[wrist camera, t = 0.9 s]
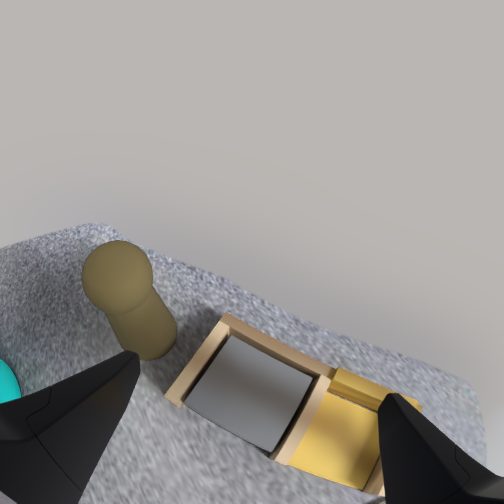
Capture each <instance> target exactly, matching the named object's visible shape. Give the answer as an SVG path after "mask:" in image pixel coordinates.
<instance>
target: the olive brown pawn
mask: <svg viewBox="0 0 504 504" xmlns="http://www.w3.org/2000/svg"><path fill="white" fill-rule="evenodd" d="M81 280H82V284H83V288H84V292H85V294H86V296H87V297H88V298H89V300H90V301H91V302H92V304H93V305H94V306H96V307H97V308H99V309H101V310H102V311H104V312H105V313H106V316H107V318H108V320H109V322H110V324H111V326H112V328H113V330H114V332H115V334H116V336H117V338H118V340H119V342H120V344H121V346H122V348H123V349H124V350H125V351H126V350H131V351H134V352H137V353H138V354H139V359H140V360H145V361H146V360H154V359H157V358H159V357H161V356H163V355H165V354H166V353H167V352H168V351H169V350H170V349H171V348H172V346H173V344H174V342H175V340H176V336H177V326H176V321H175V319H174V318H173V316H172V314H171V313H170V311H169V310H168V308H167V307H166V305H165V304H164V302H163V301H162V299H161V298H160V296H159V295H158V293H157V292H156V290H155V289H154V287H153V286H152V284H153V272H152V266H151V263H150V261H149V259H148V257H147V255H146V254H145V253H144V252H143V251H142V250H141V249H140V248H139V247H138V246H136V245H134V244H132V243H129V242H127V241H120V240H116V241H110V242H107V243H105V244H102V245H100V246H99V247H97V248H96V249H95V250H93V251H92V252H91V254H90V255H89V256H88V257H87V259H86V261H85V263H84V266H83V270H82V279H81Z"/></svg>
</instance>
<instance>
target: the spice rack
mask: <svg viewBox="0 0 504 504" xmlns="http://www.w3.org/2000/svg"><path fill="white" fill-rule="evenodd" d="M310 383H311V384H310ZM309 384H310V386H309ZM308 386H309V388H308ZM307 388H308V390H307ZM306 390H307V392H306ZM326 391H330V392H332V393H334V394H336V395H338V396H341V397H343V398H345V399H348V400H350V401H352V402H355V403H357V404H359V405H362V406H364V407H367V408H369V409H371V410H374V411H377V412H378V408H379V406H380V404H381V403H382V401H383V400H384V398H385V396H386V395H387V394H388V393H397V392H394V391H392V390H390V389H387V388H385V387H383V386H380V385H378V384H376V383H373V382H371V381H369V380H367V379H364V378H362V377H360V376H358V375H356V374H353V373H351V372H349V371H347V370H345V369H343V368H340V367H338V368H337V369H334V368H332V367H330V366H328V365H326V364H324V363H322V362H320V361H318V360H316V359H313V358H311V357H309V356H307V355H305V354H303V353H301V352H299V351H297V350H295V349H293V348H292V347H290V346H288V345H286V344H284V343H282V342H280V341H278V340H276V339H274V338H272V337H270V336H269V335H267V334H265V333H263V332H261V331H259V330H257V329H256V328H254V327H252V326H250V325H248V324H246V323H245V322H243V321H241V320H239V319H237V318H236V317H234V316H232V315H230V314H229V313H227V312H225V314H224V315H223V316H222V318H221V319H220V321H219V322H218V323H217V325H216V326H215V327H214V329H213V330H212V332H211V333H210V334H209V336H208V337H207V338H206V340H205V341H204V342H203V344H202V345H201V347H200V348H199V349H198V351H197V352H196V353H195V355H194V356H193V357H192V359H191V360H190V361H189V363H188V364H187V366H186V367H185V368H184V370H183V371H182V372H181V374H180V375H179V376H178V378H177V379H176V380H175V382H174V383H173V384H172V386H171V387H170V388H169V390H168V391H167V392H166V394H165V395H164V397H165V398H166V399H168V400H169V401H170V402H172V403H173V404H174V405H176V406H177V407H179V408H181V407H182V405H183V404H185V405H186V406H187V407H189V408H190V409H192V410H193V411H195V412H196V413H198V414H199V415H201V416H203V417H204V418H206V419H208V420H209V421H211V422H213V423H214V424H216V425H218V426H219V427H221V428H223V429H225V430H226V431H228V432H230V433H232V434H234V435H235V436H237V437H239V438H241V439H243V440H245V441H247V442H249V443H251V444H253V445H255V446H257V447H259V448H261V449H263V450H265V451H268V452H272V451H273V449H274V448H275V449H274V451H273V452H272V454H271V455H270V457H269V459H271V460H273V461H276V462H278V463H280V464H283V465H286V466H287V464H288V465H291V466H293V467H295V468H298V469H300V470H303V471H306V472H308V473H311V474H314V475H316V476H319V477H322V478H325V479H328V480H331V481H334V482H337V483H340V484H344V485H347V486H350V487H354V488H358V489H361V490H363V491H362V492H365V493H369V494H374V495H379V496H384V497H385V490H384V481H383V472H382V464H381V456H379V454H380V449H379V433H378V414H377V413H375V412H373V411H370V410H368V409H366V408H363V407H361V406H358V405H356V404H354V403H351V402H349V401H347V400H344V399H342V398H340V397H337V396H335V395H333V394H331V393H329V392H326ZM305 392H306V394H305ZM304 394H305V396H304ZM400 395H401V396H402V397H404V398H405V399H406V400H407V401H408V402H409V403H410V404H411V405H412V406H414V407H415V408H416V409H417V410H418V411H419V412H420V413H421V410H422V406H420V405H418V401H417V400H414V399H412V398H409V397H407V396H404V395H402V394H400ZM303 396H304V398H303ZM302 398H303V400H302ZM301 400H302V402H301ZM300 402H301V403H300ZM299 404H300V405H299ZM298 406H299V407H298ZM297 407H298V409H297ZM296 409H297V411H296ZM295 411H296V413H295ZM294 413H295V415H294ZM293 415H294V416H293ZM292 417H293V418H292ZM291 418H292V420H291ZM290 420H291V422H290ZM289 422H290V424H289ZM288 424H289V425H288ZM287 426H288V427H287ZM286 427H287V429H286ZM285 429H286V431H285ZM284 431H285V432H284ZM283 432H284V434H283ZM282 434H283V436H282ZM281 436H282V437H281ZM280 438H281V439H280ZM279 439H280V441H279ZM278 441H279V442H278ZM277 443H278V444H277ZM276 444H277V446H276ZM275 446H276V447H275ZM378 457H379V459H378ZM377 459H378V461H377ZM376 461H377V463H376ZM375 463H376V465H375ZM374 466H375V467H374ZM373 468H374V469H373ZM372 470H373V472H372ZM371 472H372V474H371ZM370 474H371V476H370ZM369 476H370V478H369ZM368 478H369V480H368ZM367 480H368V482H367ZM366 482H367V484H366ZM365 484H366V486H365ZM364 486H365V488H364ZM363 488H364V489H363Z"/></svg>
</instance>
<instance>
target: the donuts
mask: <svg viewBox="0 0 504 504" xmlns="http://www.w3.org/2000/svg"><path fill="white" fill-rule="evenodd" d="M17 398H21V392H20V388H19V385H18V382H17V380H16V377H15V375H14V374H13V372H12V370H11V369H10V368H9V366H8V365H7V364H6V363H5V362H4V361H3V360H1V359H0V403H4V402H7V401H11V400H14V399H17Z"/></svg>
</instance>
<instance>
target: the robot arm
mask: <svg viewBox="0 0 504 504" xmlns="http://www.w3.org/2000/svg"><path fill="white" fill-rule="evenodd" d="M139 375H140V361H139V354H138V353H137V352H134V351H131V350H126V351H124V352H121V353H119V354H117V355H115V356H113V357H111V358H109V359H107V360H105V361H103V362H101V363H99V364H97V365H94V366H92V367H90V368H88V369H86V370H84V371H82V372H80V373H77V374H75V375H73V376H71V377H69V378H67V379H65V380H62V381H60V382H58V383H56V384H54V385H52V386H49V387H47V388H44V389H42V390H40V391H37V392H35V393H32V394H30V395H27V396H24V397H21V398H17V399H14V400H11V401H7V402H4V403H0V504H78V502H79V500H80V498H81V496H82V494H83V493H82V492H84V489H85V487H86V485H87V483H88V481H89V479H90V477H91V475H92V473H93V471H94V469H95V467H96V465H97V463H98V461H99V459H100V458H101V456H102V454H103V452H104V450H105V448H106V446H107V444H108V442H109V440H110V438H111V436H112V434H113V433H114V431H115V429H116V427H117V425H118V423H119V421H120V419H121V418H122V416H123V414H124V412H125V410H126V408H127V406H128V403H129V401H130V398H131V395H132V393H133V390H134V388H135V385H136V383H137V380H138V378H139ZM377 414H378V433H379V449H380V456H381V464H382V472H383V481H384V490H385V502H386V504H504V477H500V476H498V475H495V474H494V473H492V472H491V471H490V470H488V469H487V468H485V467H484V466H483V465H481V464H480V463H478V462H477V461H476V460H474V459H473V458H472V457H470V456H469V455H468V454H467V453H465V452H464V451H463V450H462V449H461V448H460V447H458V446H457V445H455V443H454V442H453V441H452V440H450V439H449V438H448V437H447V436H446V435H445V434H444V433H443V432H441V431H440V430H439V429H438V428H437V427H436V426H435V425H434V424H433V423H431V422H430V421H429V420H428V419H427V418H426V417H425V416H424V415H422V414H421V413H420V412H419V411H418V410H417V409H416V408H415V407H414V406H412V405H411V404H410V403H409V402H408V401H407V400H406V399H405V398H404V397H402V396H401V395H400V394H399V393H388V394H387V395H386V396H385V398H384V400H383V401H382V403H381V404H380V406H379V408H378V412H377Z"/></svg>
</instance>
